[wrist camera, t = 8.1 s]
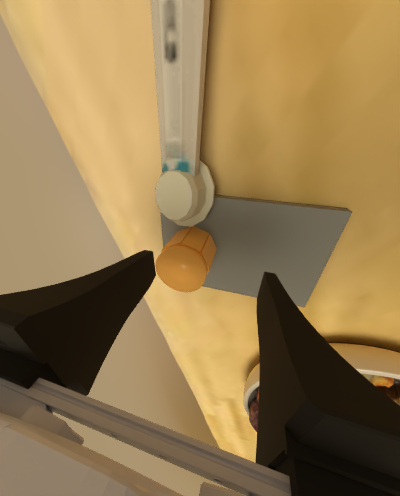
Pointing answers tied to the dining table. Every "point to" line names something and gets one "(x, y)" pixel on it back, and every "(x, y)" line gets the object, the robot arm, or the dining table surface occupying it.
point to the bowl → (359, 356)
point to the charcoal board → (267, 243)
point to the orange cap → (186, 259)
